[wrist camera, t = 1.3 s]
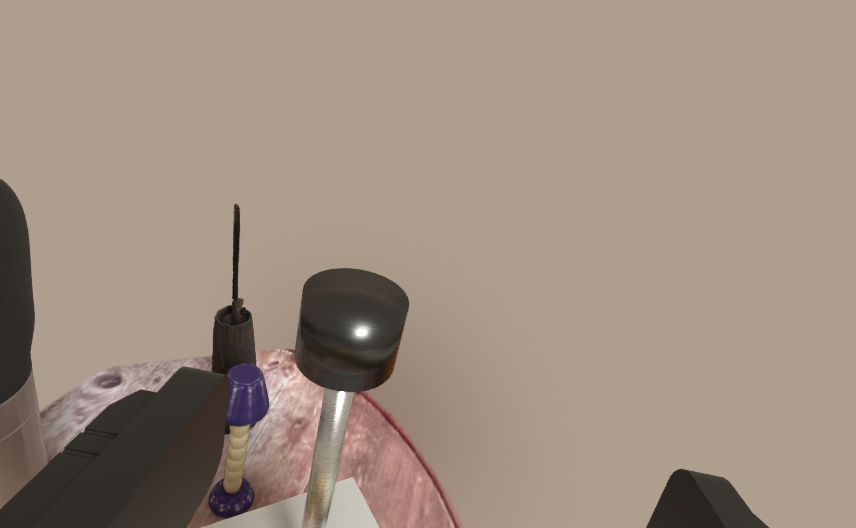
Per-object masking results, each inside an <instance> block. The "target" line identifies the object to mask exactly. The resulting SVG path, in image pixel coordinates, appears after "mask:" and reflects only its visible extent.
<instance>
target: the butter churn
mask: <svg viewBox="0 0 856 528" xmlns="http://www.w3.org/2000/svg"><path fill="white" fill-rule="evenodd" d="M239 209H240V208H239V206H238V205H237V204H235V205H234V232H233V235H234V236H233V240H234V241H233V297H232V298H233V300H234V301H233V302H232V305H229V306H226V307H225V308H222V309H221V310H219V311H218V312H217V314H216V317H215V322H214V323H215V324H214V330H213V355H212V360H213V362H212V372H214V373H219V374H224V375H226V374H227V373H228V371H229V370H230V369H231V368H232V367H234V366H236V365H239V364H251V365H254V366H256V353H255V343H254V331H253V322H252V315H251V313H250V312H249V311H248V310H246V308H244V307H243V308H242V305H243V299H240V298H238V262H239V237H240V212H239ZM255 424H256V423H255ZM255 424H253V425H250V427H249V430H250V429H251V428H252V427H254V426H255ZM225 434H230V425H228V424H226V425H225Z"/></svg>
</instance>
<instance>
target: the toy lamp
mask: <svg viewBox="0 0 856 528" xmlns="http://www.w3.org/2000/svg"><path fill="white" fill-rule="evenodd" d="M226 375H228V376H229V380H230V389H229V398H228V407H227V416H226V424H228V425H230V434H229V445H228V449H227V453H228V456H227V458H226V468H225V478H224V479H222V480H221V481H219V482H218V483H217V484H216V485H215V486H214V488H213V489H212V491H211V493H210V496H209V506H210V508H211V510H212V511H213V512H214V513H215V514H216V515H218V516H221V517H225V518H231V517H234V516H237V515H240V514H243V513H244V512H246V511H247V510H248V509H249V508H250V506H251V505H252V503H253V500H254V492H253V488H252V486H251V484H250V483H249V482H248V481H247V480H246V479H244V478H242V475H243V471H244V468H243V466H244V464H245V454H246V451H247V444H246V443H247V441H248V430H249V427H250V425H253V424H255V423H256V422H258V421H260V420H261V419H262V418H263V417H264V416H265V415H266V413H267V411H268V409H269V398H268V393H267V389H266V384H265V379H264V376H263V373H262V371H261V370H260V369H259V368H258V367H257V366H254V365H251V364H239V365H236V366H234V367H232V368H231V369H230V370H229V371H228V373H227V374H226Z"/></svg>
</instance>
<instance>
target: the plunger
mask: <svg viewBox="0 0 856 528" xmlns="http://www.w3.org/2000/svg"><path fill="white" fill-rule="evenodd" d="M408 308H409V300H408V297H407V295H406V293H405V292H404V291H403V290H402V289H401V288H400V287H399V286H398V285H397V284H396V283H394V282H393V281H391V280H389V279H387V278H386V277H383V276H381V275H378V274H376V273H372V272H368V271H364V270H359V269H350V268H349V269H348V268H339V269H330V270H325V271H322V272H319V273H317V274H315V275H313V276H312V277H310V278H309V279H308V280H307V281H306V282H305V284H304V287H303V294H302V301H301V308H300V317H299V324H298V332H297V339H296V347H295V362H296V365H297V367H298V369H299V370H300V372H301V373H302V374H303V375H304V376H305V377H306V378H308V379H309V380H310V381H312V382H313V383H315V384H317V385H319V386H322V387H324V388H325V391H324V397H323V403H322V409H321V415H320V421H319V427H318V433H317V438H316V444H315V450H314V456H313V462H312V468H311V474H310V480H309V486H308V492H307V497H306V503H305V509H304V515H303V521H302V527H301V528H326V526H327V521H328V516H329V511H330V506H331V501H332V496H333V491H334V487H335V482H336V477H337V472H338V467H339V462H340V457H341V452H342V447H343V442H344V437H345V432H346V428H347V423H348V418H349V413H350V408H351V403H352V398H353V393H354V392H361V391H367V390H370V389H373V388H376V387H378V386H380V385H381V384H383V383H384V382H385V381H387V380H388V379H389V378H390V376H391V374H392V373H393V370H394V366H395V362H396V358H397V353H398V349H399V345H400V341H401V337H402V333H403V329H404V325H405V321H406V316H407V312H408Z"/></svg>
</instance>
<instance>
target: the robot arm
mask: <svg viewBox="0 0 856 528" xmlns="http://www.w3.org/2000/svg"><path fill="white" fill-rule="evenodd" d="M29 245H30V244H29V235H28V228H27V222H26V218H25V214H24V211H23V208H22V206H21V203H20V201H19V200H18V198H17V196H16V194H15V193H14V192H13V190H12V189H11V188H10V186H8V185H7V184H6V183H5V182H4V181H3V180H1V179H0V528H186V527H187V525H188V524H189V522H190V520H191V519H192V517H193V515H194V513H195V512H196V510H197V508H198V506H199V505H200V503H201V501H202V500H203V498H204V496H205V494H206V493H207V491H208V489H209V487H210V486H211V484H212V481H213V479H214V477H215V474H216V472H217V469H218V466H219V463H220V459H221V455H222V450H223V443H224V434H225V425H226V416H227V407H228V398H229V389H230V380H229V376H228V375H224V374H219V373H214V372H209V371H204V370H199V369H194V368H190V367H185V366H184V367H181V368H180V369H179V370H178V371H177V372H176V373H175V374H174V375H173V376H172V377H171V378H170V379H169V380H168V381H167V382H166V383H165V385H164V386H163V387H162V388H161V389H160V390H159V391H158V392H157V393H156V392H151V391H146V390H139V391H137V392H135V393H133V394H131V395H129V396H127V397H125V398H123V399H121V400H119V401H117V402H115V403H113V404H111V405H109V406H108V407H107V408H106V409H105V410H103V411H102V412H101V413H100V414H99V415H98V416H97V417H96V418H95V419H94V420H93V421H92V422H91V423H90V424H89V425H88V426H87V427H86V428H85V431H84V432H83V433H79V434H78V435H77V436H76V437H75V438H74V439H73V440H72V441H71V442H70V443H69V444H68V445H67V446H66V447H65V449H64V451H63V453H59V454H57V455H56V456H55V457H54V458H53V459H52V460H51V461H50V462H49V463H48V460H47V454H46V448H45V442H44V436H43V430H42V424H41V418H40V412H39V406H38V400H37V394H36V390H35V383H34V377H33V371H32V362H31V354H30V351H31V344H32V338H33V331H34V322H35V314H34V313H35V312H34V302H33V290H32V277H31V260H30V246H29ZM646 528H769V527H768V526H766V525H765V524H764V523H763V522H762V521H761V520H760V519H759V518H758V517H756V515H754V514H753V513H752V512H751V510H750V509H749V508H748V506H747V505H746V503H745V502H744V501H743V499H742V498H741V497H740V495H739V494H738V493H737V491H736V490H735V488H734V487H733V486H732V484H730V482H729V481H728V480H726V479H725V478H723V477H718V476H713V475H709V474H704V473H698V472H694V471H689V470H684V469H679V470H676V471H675V472H673V474H672V475H671V476H670V478H669V480H668V482H667V484H666V487H665V489H664V491H663V493H662V495H661V497H660V499H659V502H658V504H657V506H656V508H655V510H654V512H653V514H652V516H651V519H650V521H649V523H648V525H647V527H646Z"/></svg>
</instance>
